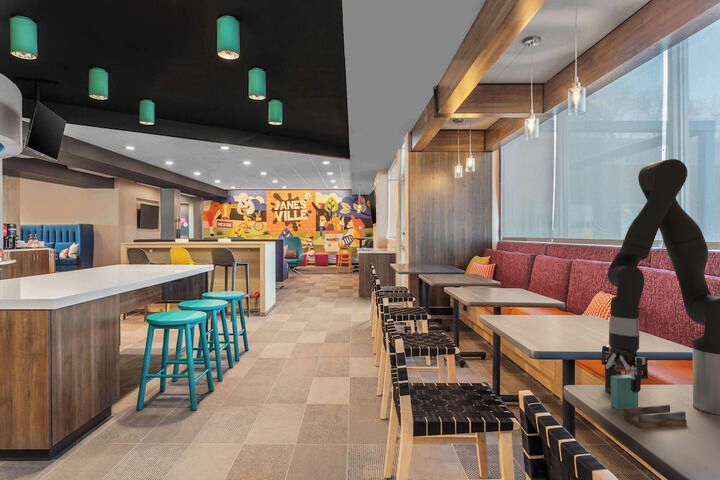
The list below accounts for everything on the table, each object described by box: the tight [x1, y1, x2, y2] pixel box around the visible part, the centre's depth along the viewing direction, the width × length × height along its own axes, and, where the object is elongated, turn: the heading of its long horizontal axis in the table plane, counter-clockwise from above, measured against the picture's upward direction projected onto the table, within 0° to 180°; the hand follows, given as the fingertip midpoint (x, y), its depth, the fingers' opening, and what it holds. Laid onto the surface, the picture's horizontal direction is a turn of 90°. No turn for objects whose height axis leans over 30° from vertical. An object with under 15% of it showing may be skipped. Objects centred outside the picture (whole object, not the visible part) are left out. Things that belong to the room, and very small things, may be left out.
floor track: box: [623, 404, 688, 429], centre depth 108 cm, size 14×6×3 cm, turn 99°
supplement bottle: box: [604, 365, 627, 393], centre depth 129 cm, size 6×6×11 cm
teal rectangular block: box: [610, 374, 639, 410], centre depth 117 cm, size 7×2×9 cm, turn 99°
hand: (622, 386), depth 117 cm, fingers open, 8 cm apart
